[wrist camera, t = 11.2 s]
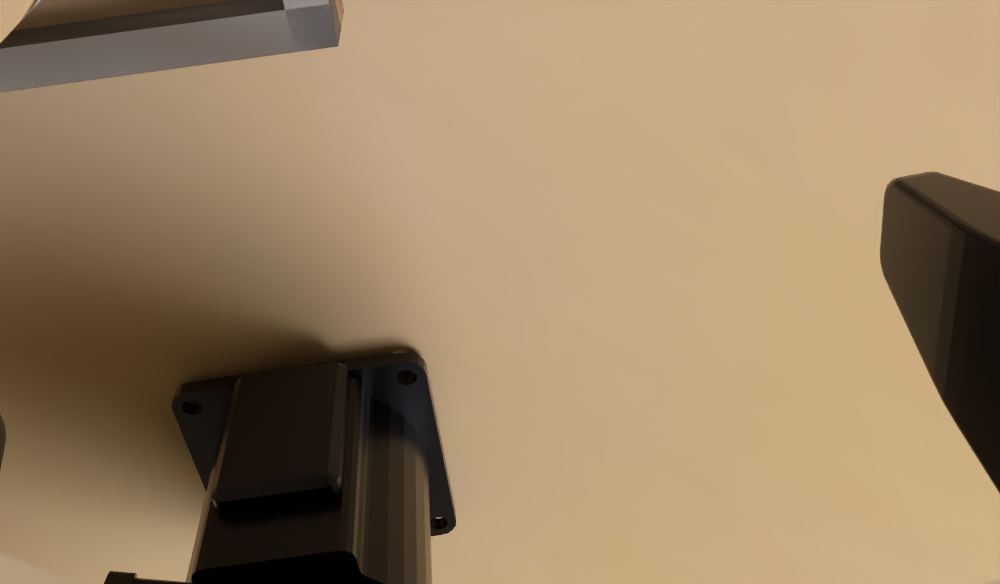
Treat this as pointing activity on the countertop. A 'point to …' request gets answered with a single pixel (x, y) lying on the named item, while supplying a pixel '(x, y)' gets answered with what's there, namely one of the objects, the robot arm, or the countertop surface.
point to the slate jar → (13, 14)
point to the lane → (156, 36)
